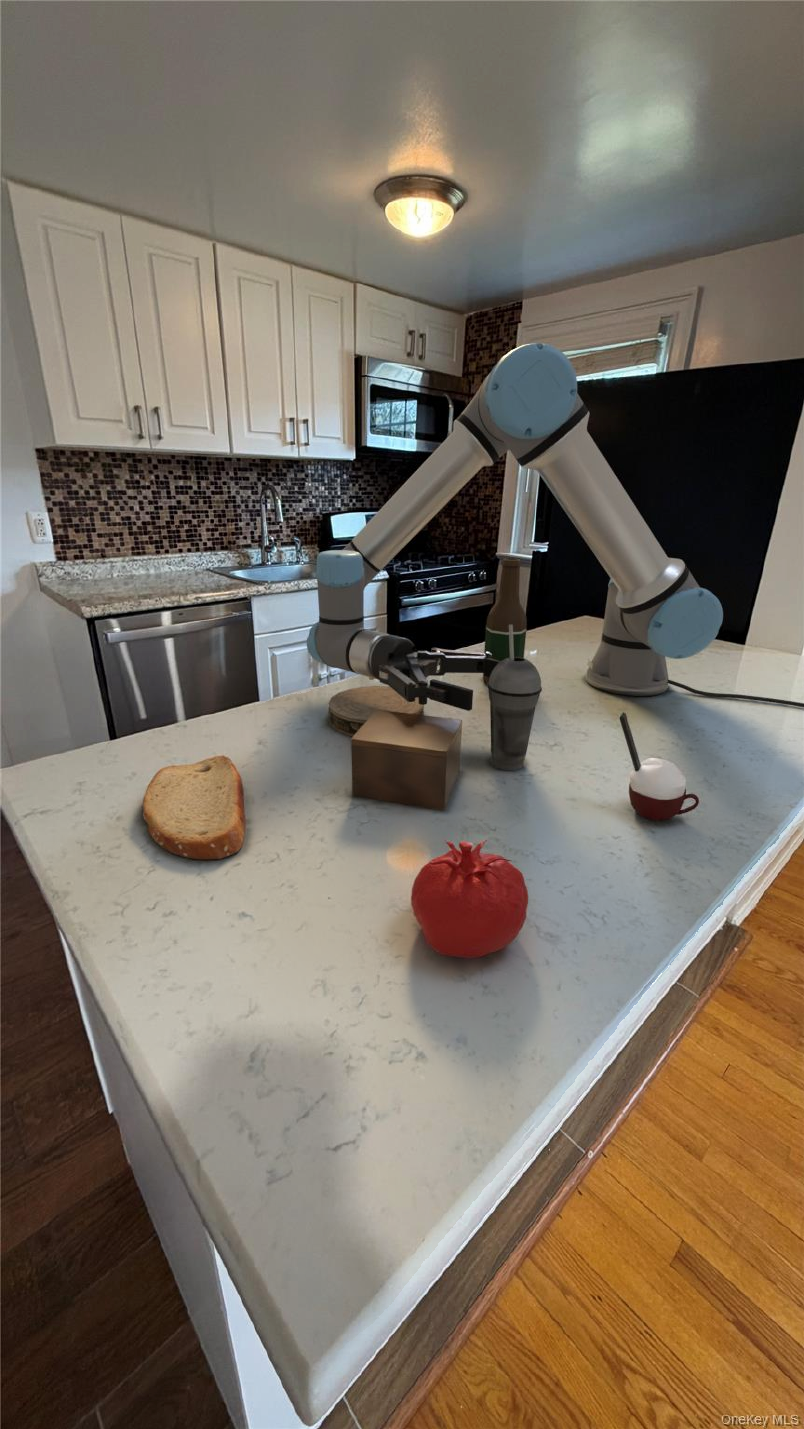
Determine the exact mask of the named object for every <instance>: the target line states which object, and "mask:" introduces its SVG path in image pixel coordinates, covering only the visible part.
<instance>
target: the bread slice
mask: <svg viewBox="0 0 804 1429" xmlns="http://www.w3.org/2000/svg"><path fill="white" fill-rule="evenodd" d="M244 793H245V792H244V786H243V779H242V777H241V774H240V772H239V771H238V769H237V768H236V766H235V764H234V763H233V761H232V760H231V758H229V757H228V756H226V755H224V754H223V755H215V756H213V757H208V758H205V759H203V760H201V761H197V762H195V763H191V764H181V765H170V766H165V767H162V768H160V769H159V770H158V771H157V772H156V773H155V774H154V776H153V777H152V779H151V780H150V782H149V783H148V785H147V787H146V788H145V794H144V796H143V798H142V810H143V812H142V815H143V819H144V821H145V822H146V824H147V825H148V829H147V830H148V833H149V835H150V836H151V838H152V839H153V841H154V842H156V843H157V844H159V845H160V847H161V848H163V849H164V850H166V851H168V852H170V853H172V854H174V855H176V856H177V855H178V856H180V857H183V858H187V859H193V860H215V859H216V860H221V859H224V858H226V857H229V856H231V855H234V854H236V853H238V852H240V850H241V848H242V846H243V844H244V836H245V830H246V815H245V796H244V795H245V794H244Z"/></svg>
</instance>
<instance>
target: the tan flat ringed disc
mask: <svg viewBox="0 0 804 1429" xmlns="http://www.w3.org/2000/svg"><path fill="white" fill-rule="evenodd" d="M327 705H328V721H329V724H330V726H331V727H333V729H334V730H336V731H337V732H339V733H342V734H345V735H347V736H351V737H353V736H354V735H355V734H356V732H357V731H358V730H359V729H360V728H361V727H362V726H363V724H364V723H365V722H366V721H367V720H368V719H369V718H370V717H371V715H372V714H373V713H374V712H375V711H376V710H382V711H391V712H399V713H408V714H417V715H424V712H425V711H424V710H425V709H424V708H425V705H421V704H419V698H418V697H417V698H415V701H414V702H408V701H406V700H405V699H404V698H403V697H402V696H400V695H399V694H398V693H397V692H396V691H394V690H393V689H392V688H391V687H390V686H388V685H386V686H384V685H383V686H382V685H371V686H359V687H355V688H354V687H353V688H349V689H346V690H343V691H340V692H337V693H336V694H335V695H333V696H331V697H330V699H329V701H328V704H327Z"/></svg>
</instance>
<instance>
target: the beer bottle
mask: <svg viewBox="0 0 804 1429" xmlns="http://www.w3.org/2000/svg"><path fill="white" fill-rule="evenodd" d="M500 565H501V566H502V567H501V575H500V583H499V590H498V596H497V599H496V602H495V603H494V605H492V608H490V611H489V613H488V615H487V618H486V623H485V624H486V625H485V634H484V651H483V653H485V651H487V652H490V653H491V654H492V659H495V660H499V661H502V660H504V659H507V658H510V646H509V625H513V647H514V657H521V658H524V659H525V649H526V648H525V647H526V639H527V628H528V627H527V626H528V624H527V623H528V621H527V615H526V610H525V609H524V607H523V605H522V604H521V601H520V580H521V579H520V577H521V574H520V573H521V566H523V565H522V560H521V559H520V558H517V557H516V558H515V557H505V558H503V559H502V560H501V563H500ZM489 678H490V677H487V676H484V673H482V679H483V681H484V682H485V683H486V684H488V682H489Z"/></svg>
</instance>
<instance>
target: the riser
mask: <svg viewBox="0 0 804 1429" xmlns="http://www.w3.org/2000/svg"><path fill="white" fill-rule="evenodd" d="M462 734H463V719H458V718H450V717H442V716H433V715H425V714H423V715H417V714H408V713H399V712H391V711H382V710H376V711H375V712H374V713H373V714H372V715H371V717H370V718H369V719H368V720H367V721H366V722H365V723H364V724H363V726H362V727H361V728H360V729H359V730H358V731H357V732H356V734H355V735H354V736H351V738H350V761H351V764H350V765H351V766H350V767H351V795H352V797H357V798H365V799H370V800H371V799H372V800H377V801H383V802H390V803H396V804H403V805H409V806H415V807H421V808H427V809H432V810H433V809H434V810H439V811H445V810H446V807H447V805H448V802H449V801H450V798H451V795H452V792H453V790H454V788H455V785H456V783H457V780H458V778H459V776H460V772H461V771H460V770H461V755H462V754H461V751H462Z"/></svg>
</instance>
